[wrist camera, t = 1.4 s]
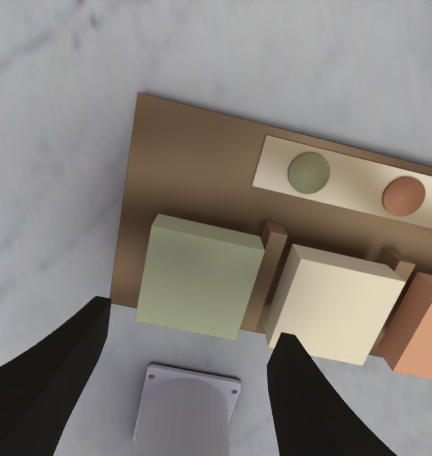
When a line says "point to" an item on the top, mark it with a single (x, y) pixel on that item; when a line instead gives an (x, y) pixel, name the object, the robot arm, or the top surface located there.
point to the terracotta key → (411, 331)
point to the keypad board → (269, 198)
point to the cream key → (332, 303)
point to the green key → (198, 277)
